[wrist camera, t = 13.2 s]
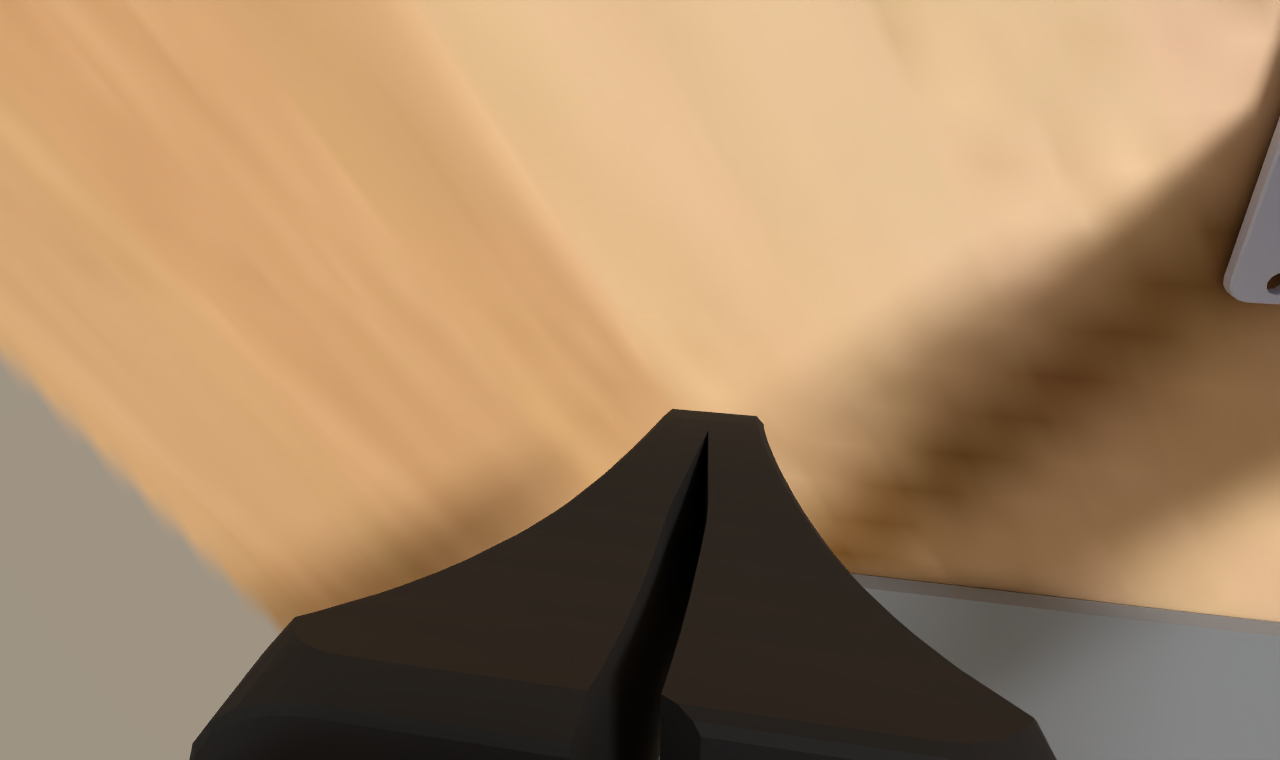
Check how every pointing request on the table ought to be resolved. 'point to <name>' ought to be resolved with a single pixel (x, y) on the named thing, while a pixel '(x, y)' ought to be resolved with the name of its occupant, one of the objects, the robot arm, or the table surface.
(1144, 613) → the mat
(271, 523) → the table surface
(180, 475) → the table surface
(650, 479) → the robot arm
